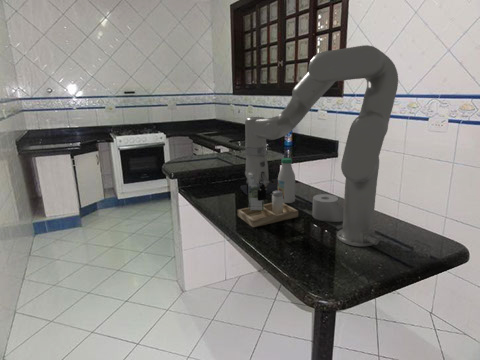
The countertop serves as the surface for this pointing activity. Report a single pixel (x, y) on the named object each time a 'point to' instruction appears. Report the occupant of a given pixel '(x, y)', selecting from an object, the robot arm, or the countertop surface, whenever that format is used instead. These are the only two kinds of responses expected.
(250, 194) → the syrup box
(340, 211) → the toilet tissue
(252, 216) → the caddy
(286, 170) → the milk bottle
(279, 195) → the shaker
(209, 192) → the countertop surface
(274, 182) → the dark slate chunk
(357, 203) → the robot arm
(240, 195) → the countertop surface
